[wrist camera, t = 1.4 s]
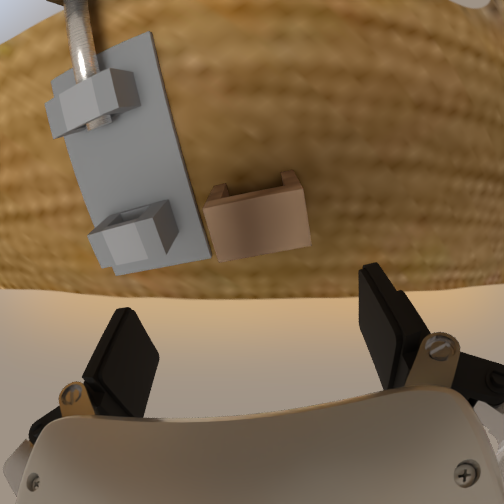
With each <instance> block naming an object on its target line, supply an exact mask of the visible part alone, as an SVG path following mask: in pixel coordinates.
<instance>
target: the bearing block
mask: <svg viewBox="0 0 504 504" xmlns="http://www.w3.org/2000/svg"><path fill="white" fill-rule="evenodd" d="M96 56H97V61H98V66H99V70H100V72H99V73H97V74H95V75H93V76H92V77H90V78H88V79H86V80H84V81H82V82H80V83H78V84H76V81H75V76H74V71H73V68H71V69H70V70H68V71H66V72H65V73H63V74H61V75H60V76H58V77H56V78H55V79H53V80H52V81H51V84H52V89H53V94H54V98H53V99H51V100H49V101H48V102H46V103H45V107H46V112H47V116H48V120H49V124H50V128H51V132H52V136H53V139H56V138H59V137H63V136H64V139H65V143H66V146H67V149H68V153H69V156H70V159H71V163H72V166H73V169H74V172H75V175H76V178H77V181H78V184H79V187H80V190H81V192H82V195H83V198H84V201H85V203H86V206H87V209H88V211H89V214H90V217H91V219H92V222H93V224H94V227H95V229H94V230H92V231H91V232H90V233H89V234H88V235H87V236H88V239H89V241H90V243H91V246H92V248H93V250H94V252H95V255H96V257H97V259H98V261H99V263H100V265H101V268H106V267H111V266H112V268H113V270H114V272H115V274H116V276H118V275H123V274H128V273H134V272H139V271H145V270H150V269H155V268H161V267H166V266H171V265H177V264H182V263H188V262H193V261H198V260H204V259H209V258H211V257H212V253H211V250H210V246H209V243H208V240H207V237H206V233H205V230H204V227H203V224H202V220H201V217H200V214H199V210H198V207H197V204H196V200H195V197H194V194H193V190H192V187H191V183H190V180H189V176H188V173H187V169H186V166H185V162H184V159H183V155H182V151H181V148H180V144H179V140H178V137H177V133H176V129H175V126H174V122H173V118H172V114H171V110H170V107H169V103H168V99H167V95H166V91H165V87H164V83H163V79H162V75H161V70H160V66H159V62H158V58H157V54H156V49H155V45H154V40H153V36H152V33H151V32H150V31H148V32H146V33H143V34H141V35H138V36H136V37H133V38H131V39H129V40H126V41H124V42H122V43H120V44H118V45H115V46H113V47H111V48H109V49H107V50H105V51H103V52H101V53H99V54H97V55H96ZM108 114H110V116H111V120H112V122H111V123H110V124H108V125H105V126H103V127H100V128H98V129H95V130H92V131H87V127H86V124H87V123H89V122H91V121H93V120H95V119H97V118H100V117H102V116H104V115H108Z"/></svg>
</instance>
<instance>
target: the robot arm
mask: <svg viewBox="0 0 504 504" xmlns="http://www.w3.org/2000/svg"><path fill="white" fill-rule="evenodd" d="M359 326H360V330H361V332H362V335H363V337H364V340H365V342H366V345H367V347H368V350H369V352H370V355H371V357H372V360H373V363H374V365H375V368H376V370H377V373H378V376H379V378H380V381H381V384H382V387H383V389H384V390H383V391H379V392H374V393H370V394H365V395H361V396H357V397H353V398H348V399H343V400H339V401H333V402H328V403H323V404H318V405H312V406H307V407H301V408H295V409H288V410H281V411H274V412H266V413H257V414H247V415H236V416H223V417H205V418H143V416H144V413H145V409H146V405H147V401H148V398H149V394H150V390H151V387H152V383H153V380H154V376H155V373H156V369H157V366H158V362H159V353H158V352H157V350H156V348H155V346H154V345H153V343H152V342H151V339H150V338H149V336H148V334H147V333H146V331H145V329H144V327H143V325H142V323H141V321H140V320H139V318H138V316H137V314H136V312H135V311H134V310H132V309H131V308H129V307H126V308H119V309H116V311H115V313H114V314H113V316H112V318H111V320H110V322H109V324H108V326H107V328H106V330H105V331H104V333H103V335H102V337H101V339H100V341H99V343H98V345H97V347H96V349H95V351H94V353H93V355H92V357H91V359H90V361H89V363H88V365H87V367H86V369H85V371H84V373H83V376H82V378H83V379H84V380H85V381H84V384H83V383H81V382H77V381H76V382H72V383H70V384H68V385H67V386H65V387H64V388H63V390H62V391H61V393H60V395H59V405H60V406H58V407H57V408H55V409H54V410H52V411H51V412H49V413H48V414H46V415H45V416H43V417H42V418H40V419H39V420H37V421H36V422H35V423H34V424H32V426H31V428H30V430H29V440H27V439H25V440H24V442H23V443H22V444H21V445H20V446H19V447H18V448H17V449H16V450H15V452H14V453H13V454H12V455H11V456H10V457H9V458H8V459H7V461H6V462H5V464H4V467H3V472H4V475H5V477H6V479H7V481H8V483H9V485H10V486H11V488H12V490H13V492H14V493H15V495H16V497H17V499H16V503H15V504H504V365H502V364H499V363H496V362H492V361H489V360H486V359H482V358H479V357H476V356H473V355H469V354H466V353H463V352H460V345H459V342H458V341H457V340H456V338H455V337H453V336H452V335H450V334H447V333H444V332H436V333H432V334H431V333H430V331H429V330H428V328H427V326H426V325H425V323H424V322H423V320H422V318H421V317H420V315H419V314H418V312H417V311H416V309H415V308H414V306H413V305H412V303H411V302H410V300H409V299H408V297H407V296H406V294H405V293H404V292H403V291H402V290H399V291H396V289H395V288H394V286H393V285H392V283H391V282H390V280H389V279H388V277H387V276H386V274H385V273H384V271H383V270H382V268H381V267H380V266H379V264H378V263H377V262H376V263H371V264H366V265H363V269H361V270H359ZM483 425H484V426H485V427H487V428H488V429H490V430H489V433H490V434H492V435H493V436H494V437H495V438H496V439H497V442H498V445H499V446H498V452H497V454H496V456H495V453H494V450H493V448H492V445H491V443H490V441H489V438H488V436H487V434H486V431H485V429H484V427H483ZM456 467H457V468H456Z"/></svg>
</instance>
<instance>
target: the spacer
mask: <svg viewBox="0 0 504 504" xmlns="http://www.w3.org/2000/svg"><path fill="white" fill-rule="evenodd" d="M281 177H282V182H283V186H280V187H275V188H270V189H264V190H259V191H254V192H249V193H245V194H240V195H235V196H230V197H229V193H228V189H227V185H226V183H225V184H221V185H216V186H214V187H213V189H212V191H211V193H210V195H209V197H208V199H207V201H206V203H205V205H204V207H203V212H204V216H205V219H206V222H207V226H208V229H209V232H210V236H211V239H212V242H213V246H214V249H215V252H216V255H217V259H218V262H219V263H220V262H225V261H231V260H236V259H242V258H247V257H253V256H258V255H264V254H269V253H275V252H280V251H286V250H291V249H296V248H302V247H307V246H312V244H311V237H310V230H309V223H308V216H307V210H306V203H305V197H304V191H303V188H302V186H301V184H300V182H299V180H298V178H297V176H296V174H295V173H294V171H293V170H290V171H284V172H281Z"/></svg>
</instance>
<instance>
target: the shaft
mask: <svg viewBox="0 0 504 504" xmlns="http://www.w3.org/2000/svg"><path fill="white" fill-rule="evenodd" d="M47 1H49V2H53V3H56V4H59V5H62V6H64V12H65V21H66V29H67V36H68V43H69V49H70V55H71V61H72V66H73V71H74V76H75V81H76V84H78V83H80V82H82V81H84V80H86V79H88V78H90V77H92V76H93V75H95V74H97V73H99V72H100V70H99V66H98V61H97V56H96V51H95V45H94V40H93V34H92V28H91V22H90V15H89V8H88V0H47ZM111 122H112V120H111V116H110V114H108V115H104V116H102V117H100V118H97V119H95V120H93V121H91V122H89V123H87V124H86V127H87V131H92V130H95V129H98V128H100V127H103V126H105V125H108V124H110V123H111Z"/></svg>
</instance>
